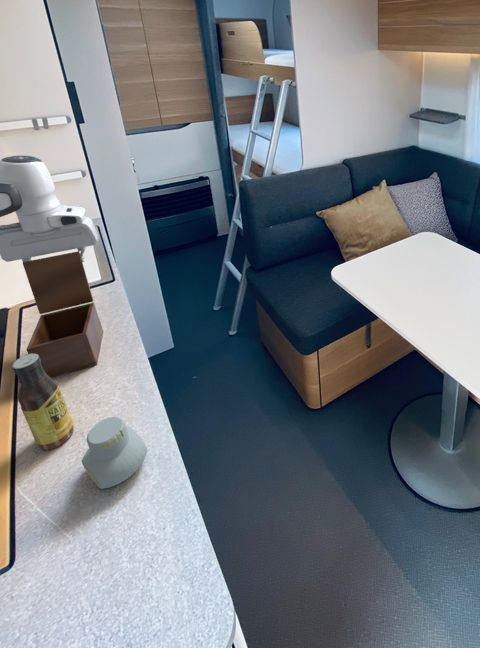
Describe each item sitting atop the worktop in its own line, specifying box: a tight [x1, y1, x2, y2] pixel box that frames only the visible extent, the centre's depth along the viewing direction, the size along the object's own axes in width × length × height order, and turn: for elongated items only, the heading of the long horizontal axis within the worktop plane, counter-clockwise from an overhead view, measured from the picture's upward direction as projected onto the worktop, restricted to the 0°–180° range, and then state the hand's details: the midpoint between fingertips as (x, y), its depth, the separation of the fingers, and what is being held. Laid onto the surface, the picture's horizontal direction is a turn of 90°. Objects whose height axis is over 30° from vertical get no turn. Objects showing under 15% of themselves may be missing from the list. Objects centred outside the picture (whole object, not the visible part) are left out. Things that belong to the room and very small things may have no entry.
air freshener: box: [81, 416, 148, 489], centre depth 76 cm, size 11×8×10 cm
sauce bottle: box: [11, 353, 74, 451], centre depth 80 cm, size 7×6×20 cm
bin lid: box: [22, 250, 94, 315], centre depth 107 cm, size 14×12×5 cm
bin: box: [25, 302, 104, 379], centre depth 103 cm, size 14×12×10 cm
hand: (59, 266), depth 107 cm, fingers open, 8 cm apart
